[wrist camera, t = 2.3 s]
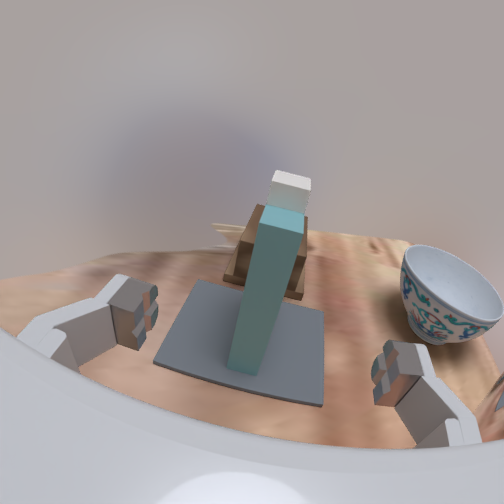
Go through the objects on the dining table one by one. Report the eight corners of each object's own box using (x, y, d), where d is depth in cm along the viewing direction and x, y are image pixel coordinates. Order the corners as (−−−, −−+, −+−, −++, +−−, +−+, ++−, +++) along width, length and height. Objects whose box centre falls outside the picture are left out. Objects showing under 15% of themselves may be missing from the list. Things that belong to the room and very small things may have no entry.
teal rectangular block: (226, 368, 23) (265, 195, 16) (247, 301, 31) (279, 161, 24) (256, 376, 23) (311, 207, 16) (270, 307, 31) (310, 169, 23)
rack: (223, 280, 34) (230, 237, 31) (242, 237, 43) (249, 202, 41) (301, 300, 33) (315, 259, 31) (303, 253, 43) (314, 218, 40)
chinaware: (428, 387, 24) (472, 333, 20) (357, 296, 36) (381, 243, 32) (486, 351, 30) (517, 308, 26) (425, 287, 41) (447, 245, 38)
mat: (153, 363, 22) (153, 360, 22) (197, 282, 33) (198, 279, 32) (321, 407, 22) (323, 404, 21) (322, 314, 32) (323, 311, 32)
